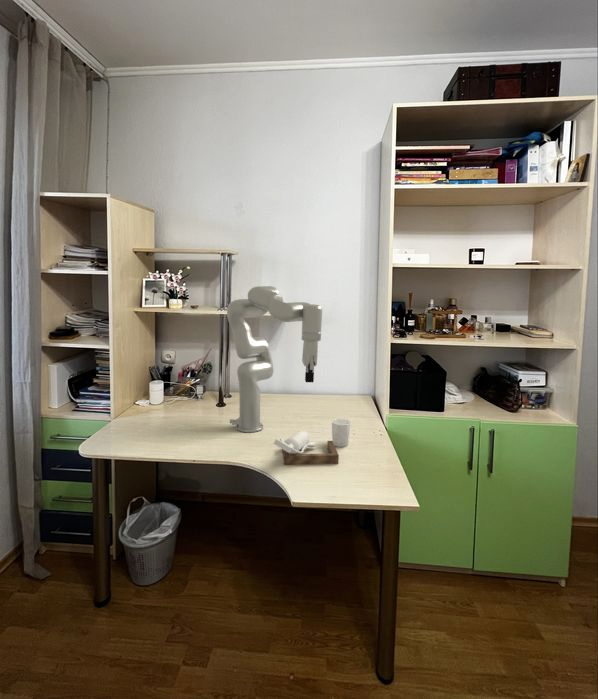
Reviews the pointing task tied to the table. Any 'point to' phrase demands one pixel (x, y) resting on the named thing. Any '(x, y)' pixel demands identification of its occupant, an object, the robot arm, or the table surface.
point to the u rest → (312, 457)
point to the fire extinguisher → (295, 443)
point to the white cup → (340, 432)
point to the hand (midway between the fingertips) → (309, 381)
